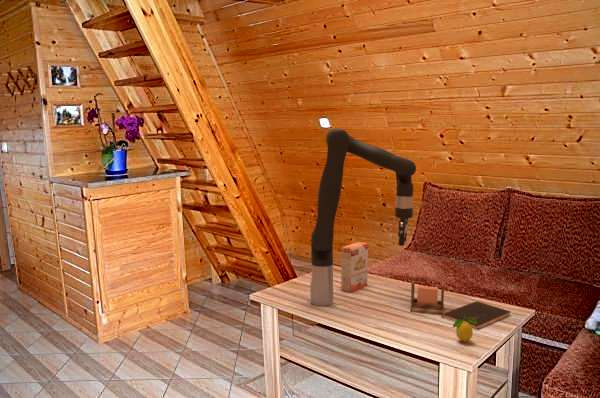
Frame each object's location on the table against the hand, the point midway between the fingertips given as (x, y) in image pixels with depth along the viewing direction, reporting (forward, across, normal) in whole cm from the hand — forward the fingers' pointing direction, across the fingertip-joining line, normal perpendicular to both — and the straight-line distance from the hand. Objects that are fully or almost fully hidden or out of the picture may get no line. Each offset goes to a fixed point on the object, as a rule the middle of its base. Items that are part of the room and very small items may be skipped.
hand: (402, 243), depth 219 cm
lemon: (+25, +37, +27) cm, 52 cm away
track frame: (+25, +7, +12) cm, 29 cm away
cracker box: (+26, -11, -22) cm, 36 cm away
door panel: (+24, +7, +12) cm, 28 cm away
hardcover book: (+26, +11, +31) cm, 42 cm away
